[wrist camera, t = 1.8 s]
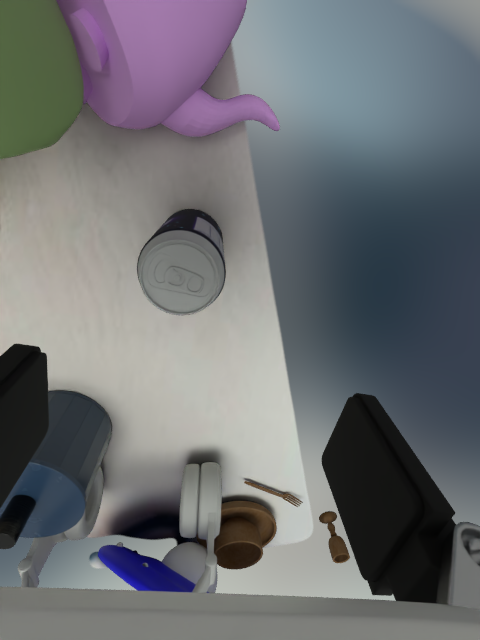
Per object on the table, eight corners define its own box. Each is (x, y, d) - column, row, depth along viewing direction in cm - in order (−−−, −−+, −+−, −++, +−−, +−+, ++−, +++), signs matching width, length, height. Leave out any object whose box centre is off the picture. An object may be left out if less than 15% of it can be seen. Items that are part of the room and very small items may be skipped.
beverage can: (173, 197, 29) (148, 216, 18) (231, 222, 30) (240, 254, 19) (154, 255, 31) (121, 303, 20) (209, 276, 32) (206, 332, 21)
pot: (5, 399, 37) (-59, 469, 28) (93, 383, 37) (56, 448, 28) (44, 461, 41) (0, 538, 33) (123, 447, 41) (99, 521, 33)
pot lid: (-58, 462, 29) (-105, 512, 25) (61, 440, 29) (35, 487, 24) (2, 534, 34) (-28, 586, 29) (105, 516, 33) (89, 566, 29)
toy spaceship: (286, 669, 44) (302, 606, 48) (212, 648, 29) (244, 559, 33) (158, 580, 57) (179, 537, 61) (62, 534, 42) (98, 482, 47)
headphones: (222, 447, 42) (226, 645, 25) (218, 490, 46) (220, 689, 28) (62, 446, 40) (-54, 659, 23) (71, 491, 44) (-23, 705, 27)
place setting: (233, 473, 44) (236, 516, 39) (342, 511, 50) (357, 553, 45) (174, 541, 50) (170, 586, 45) (278, 568, 56) (285, 611, 51)
